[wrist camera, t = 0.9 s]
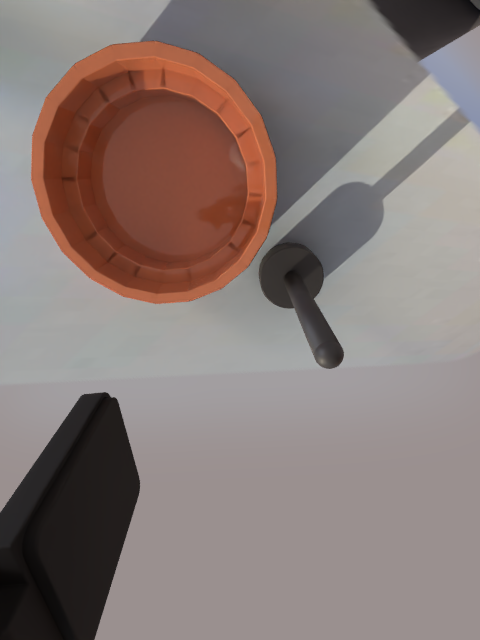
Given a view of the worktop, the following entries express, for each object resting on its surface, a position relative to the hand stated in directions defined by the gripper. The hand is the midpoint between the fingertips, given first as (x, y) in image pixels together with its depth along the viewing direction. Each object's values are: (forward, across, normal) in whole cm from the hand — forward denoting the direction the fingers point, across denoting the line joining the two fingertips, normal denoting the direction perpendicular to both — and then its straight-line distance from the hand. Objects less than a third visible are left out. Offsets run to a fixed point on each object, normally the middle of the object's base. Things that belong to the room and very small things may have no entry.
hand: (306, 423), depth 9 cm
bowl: (+24, +6, -5) cm, 25 cm away
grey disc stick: (+24, -2, +3) cm, 24 cm away
